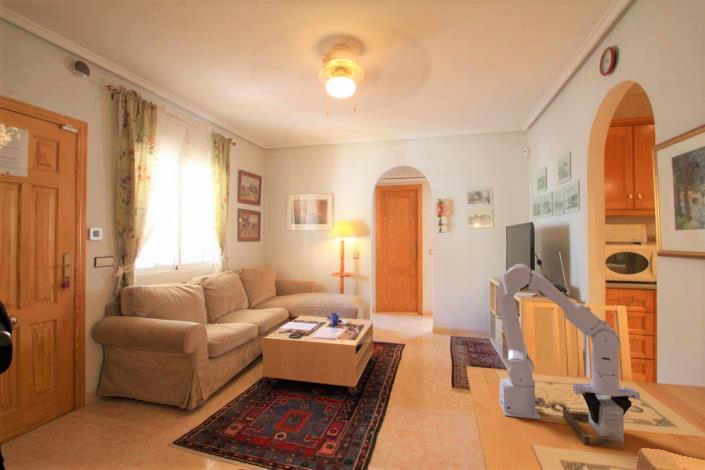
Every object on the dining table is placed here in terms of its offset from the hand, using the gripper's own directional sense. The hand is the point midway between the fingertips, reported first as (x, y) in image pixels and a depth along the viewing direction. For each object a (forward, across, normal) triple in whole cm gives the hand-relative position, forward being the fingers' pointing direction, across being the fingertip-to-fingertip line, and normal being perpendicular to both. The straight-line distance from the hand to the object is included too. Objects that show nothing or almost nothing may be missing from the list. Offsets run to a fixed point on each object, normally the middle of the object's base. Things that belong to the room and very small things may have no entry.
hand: (605, 422), depth 83 cm
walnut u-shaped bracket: (+3, +4, 0) cm, 5 cm away
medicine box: (+3, 0, 0) cm, 3 cm away
